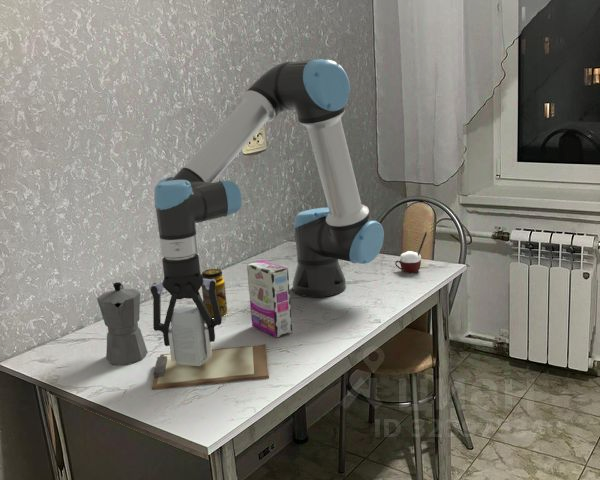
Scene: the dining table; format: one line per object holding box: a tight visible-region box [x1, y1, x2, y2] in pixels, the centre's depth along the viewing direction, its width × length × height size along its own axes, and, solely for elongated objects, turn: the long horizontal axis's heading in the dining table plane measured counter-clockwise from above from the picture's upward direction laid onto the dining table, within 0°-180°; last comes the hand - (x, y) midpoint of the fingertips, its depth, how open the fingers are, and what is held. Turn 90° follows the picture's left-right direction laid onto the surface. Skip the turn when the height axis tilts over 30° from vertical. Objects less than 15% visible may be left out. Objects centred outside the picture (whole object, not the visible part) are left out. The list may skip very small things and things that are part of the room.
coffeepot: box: [96, 282, 149, 366], centre depth 150 cm, size 15×9×18 cm, turn 13°
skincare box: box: [170, 305, 208, 366], centre depth 141 cm, size 6×4×12 cm
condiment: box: [201, 268, 234, 323], centre depth 173 cm, size 7×8×12 cm
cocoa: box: [394, 231, 428, 274], centre depth 197 cm, size 10×6×12 cm, turn 57°
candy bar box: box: [246, 260, 293, 338], centre depth 160 cm, size 11×5×16 cm, turn 37°
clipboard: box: [151, 343, 270, 391], centre depth 143 cm, size 24×16×2 cm, turn 95°
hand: (191, 356), depth 143 cm, fingers closed on skincare box, 7 cm apart
